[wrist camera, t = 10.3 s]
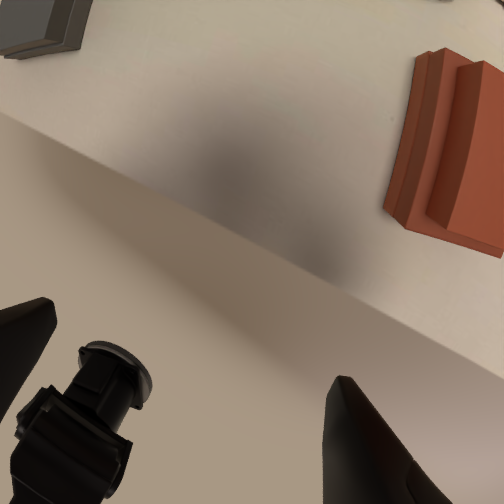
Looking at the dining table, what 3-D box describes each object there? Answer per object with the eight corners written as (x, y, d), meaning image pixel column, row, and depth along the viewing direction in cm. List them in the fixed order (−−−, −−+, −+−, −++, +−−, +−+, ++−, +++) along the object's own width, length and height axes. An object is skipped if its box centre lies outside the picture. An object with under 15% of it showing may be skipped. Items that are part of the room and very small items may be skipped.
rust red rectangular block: (497, 239, 14) (521, 257, 11) (425, 214, 14) (445, 230, 12) (529, 110, 10) (556, 112, 8) (457, 66, 11) (483, 59, 8)
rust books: (472, 236, 18) (502, 259, 14) (382, 208, 18) (403, 229, 14) (505, 102, 14) (541, 103, 10) (416, 56, 14) (444, 43, 10)
